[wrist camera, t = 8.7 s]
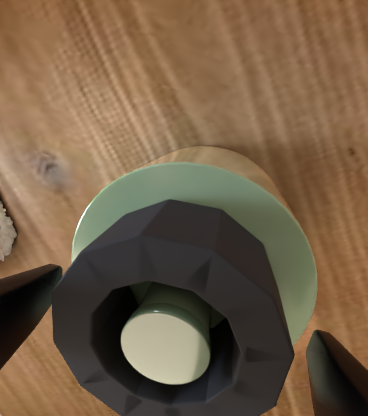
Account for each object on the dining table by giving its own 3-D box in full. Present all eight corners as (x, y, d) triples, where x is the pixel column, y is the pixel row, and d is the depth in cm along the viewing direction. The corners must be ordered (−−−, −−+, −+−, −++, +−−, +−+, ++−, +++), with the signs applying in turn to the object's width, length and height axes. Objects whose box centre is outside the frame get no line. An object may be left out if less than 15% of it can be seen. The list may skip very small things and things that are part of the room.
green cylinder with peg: (186, 316, 18) (142, 487, 10) (97, 205, 17) (-45, 292, 8) (320, 251, 15) (429, 423, 6) (224, 107, 13) (204, 85, 5)
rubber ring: (194, 379, 11) (181, 462, 9) (72, 284, 11) (16, 339, 8) (317, 287, 9) (352, 361, 6) (164, 161, 9) (130, 180, 6)
